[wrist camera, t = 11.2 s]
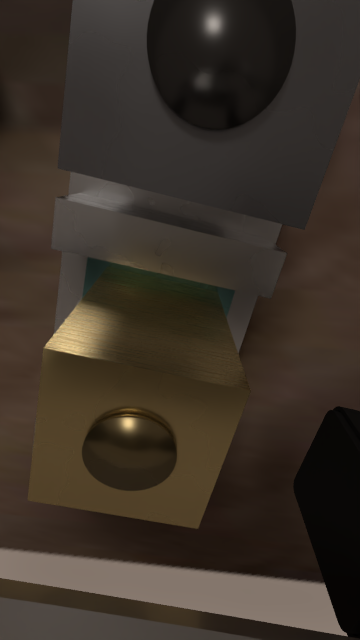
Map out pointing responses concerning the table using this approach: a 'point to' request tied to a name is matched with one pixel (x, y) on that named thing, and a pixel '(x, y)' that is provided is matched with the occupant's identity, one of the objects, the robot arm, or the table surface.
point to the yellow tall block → (137, 401)
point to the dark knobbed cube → (211, 98)
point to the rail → (162, 246)
